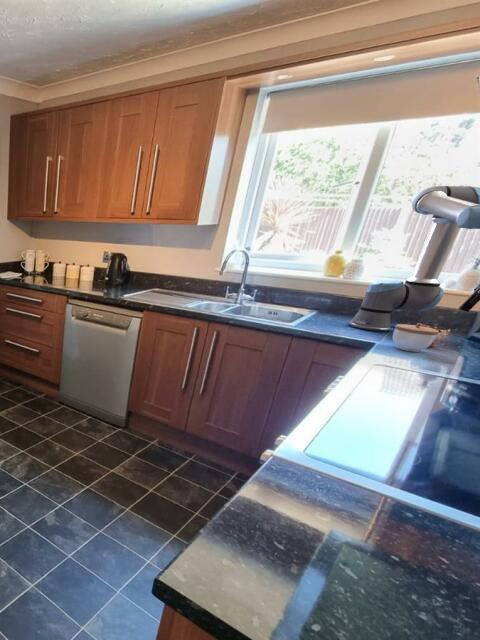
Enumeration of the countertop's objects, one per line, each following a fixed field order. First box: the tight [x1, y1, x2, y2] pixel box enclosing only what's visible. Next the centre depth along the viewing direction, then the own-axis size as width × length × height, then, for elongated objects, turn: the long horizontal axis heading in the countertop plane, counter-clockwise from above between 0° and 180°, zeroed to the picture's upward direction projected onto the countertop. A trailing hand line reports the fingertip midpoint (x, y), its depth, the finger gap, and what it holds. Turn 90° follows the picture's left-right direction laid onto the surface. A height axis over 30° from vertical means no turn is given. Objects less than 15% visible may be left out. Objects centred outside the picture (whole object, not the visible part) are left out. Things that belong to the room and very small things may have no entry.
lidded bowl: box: [392, 322, 440, 353], centre depth 174 cm, size 13×13×11 cm
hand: (463, 310), depth 165 cm, fingers closed
